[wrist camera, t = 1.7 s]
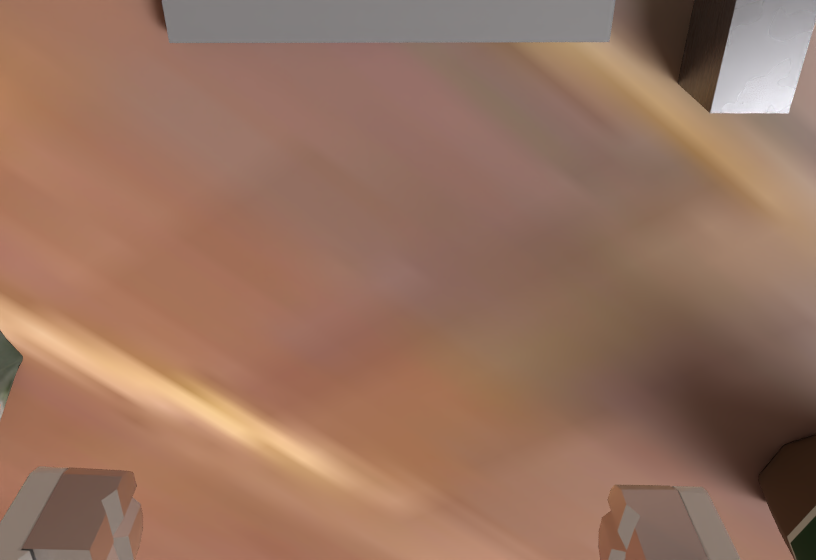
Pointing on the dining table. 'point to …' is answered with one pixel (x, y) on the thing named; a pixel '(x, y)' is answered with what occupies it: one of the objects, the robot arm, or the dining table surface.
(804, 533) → the beer bottle
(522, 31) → the board
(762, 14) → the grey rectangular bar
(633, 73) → the dining table surface
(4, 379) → the rose bouquet
